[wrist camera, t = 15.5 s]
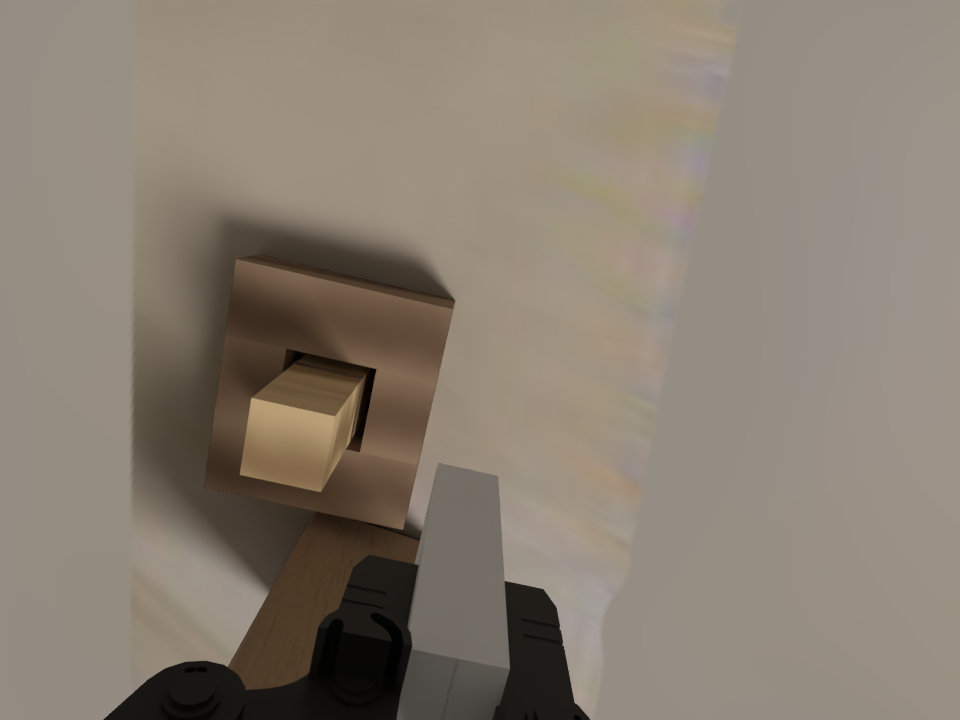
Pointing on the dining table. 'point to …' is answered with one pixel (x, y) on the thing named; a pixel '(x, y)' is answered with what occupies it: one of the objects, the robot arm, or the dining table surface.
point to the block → (310, 596)
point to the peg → (304, 422)
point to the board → (340, 336)
